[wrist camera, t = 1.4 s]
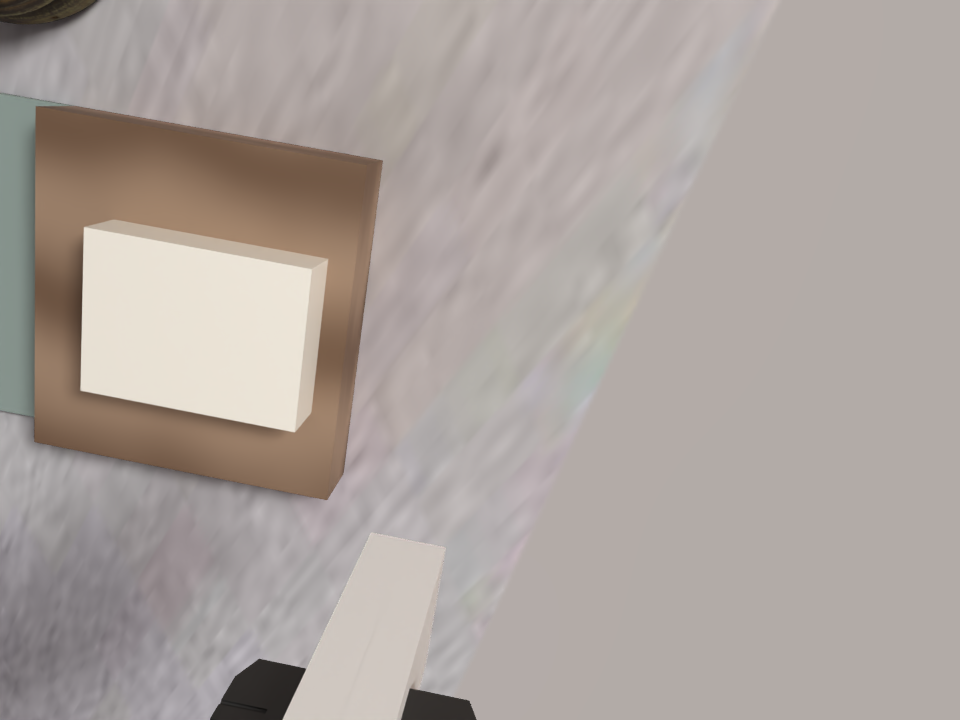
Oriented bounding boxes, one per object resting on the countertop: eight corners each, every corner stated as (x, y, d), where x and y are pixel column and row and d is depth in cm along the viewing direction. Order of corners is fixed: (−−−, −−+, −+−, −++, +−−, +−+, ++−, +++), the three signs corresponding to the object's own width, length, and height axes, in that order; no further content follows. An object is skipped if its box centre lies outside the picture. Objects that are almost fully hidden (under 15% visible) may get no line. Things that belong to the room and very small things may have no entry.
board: (74, 105, 32) (35, 106, 30) (382, 160, 32) (367, 165, 29) (69, 419, 36) (34, 441, 34) (343, 473, 36) (326, 500, 33)
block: (114, 219, 31) (83, 227, 29) (328, 259, 30) (312, 269, 28) (109, 373, 33) (80, 390, 31) (311, 413, 32) (294, 432, 30)
